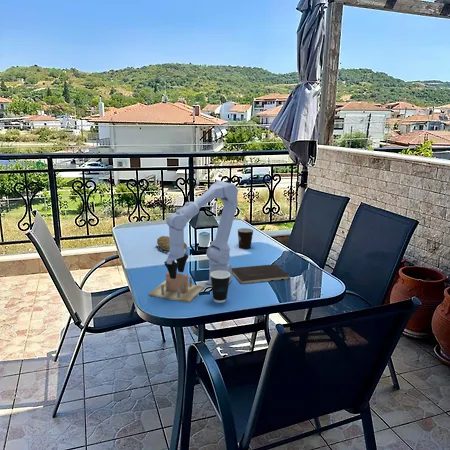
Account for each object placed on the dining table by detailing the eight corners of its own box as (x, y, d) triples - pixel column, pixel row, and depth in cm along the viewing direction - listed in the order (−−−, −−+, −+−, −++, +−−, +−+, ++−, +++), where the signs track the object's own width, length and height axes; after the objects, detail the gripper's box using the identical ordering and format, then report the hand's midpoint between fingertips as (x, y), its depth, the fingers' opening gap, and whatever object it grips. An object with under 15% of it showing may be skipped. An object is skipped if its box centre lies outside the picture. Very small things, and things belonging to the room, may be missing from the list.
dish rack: (204, 288, 173) (204, 277, 172) (189, 302, 159) (189, 291, 158) (165, 282, 179) (165, 271, 177) (148, 295, 165) (148, 284, 164)
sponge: (154, 248, 228) (164, 252, 209) (156, 234, 228) (166, 237, 209) (177, 250, 233) (188, 254, 215) (178, 236, 233) (190, 239, 215)
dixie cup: (219, 294, 168) (220, 268, 165) (233, 300, 163) (234, 274, 160) (205, 299, 162) (205, 273, 159) (220, 306, 157) (220, 279, 154)
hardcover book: (289, 280, 185) (289, 275, 185) (241, 285, 179) (241, 280, 178) (274, 268, 200) (275, 263, 199) (230, 272, 193) (230, 267, 193)
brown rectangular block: (188, 290, 168) (188, 274, 167) (186, 292, 167) (186, 276, 165) (168, 287, 171) (167, 271, 169) (166, 289, 169) (165, 273, 168)
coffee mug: (252, 250, 225) (253, 232, 222) (237, 249, 225) (237, 232, 223) (251, 243, 236) (252, 226, 234) (236, 243, 236) (237, 226, 234)
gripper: (175, 237, 172) (175, 267, 175) (159, 247, 158) (159, 280, 162) (190, 239, 170) (190, 270, 173) (175, 249, 156) (176, 282, 160)
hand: (177, 275), depth 167 cm, fingers open, 7 cm apart
